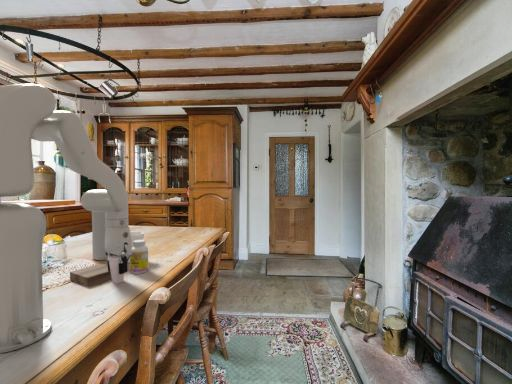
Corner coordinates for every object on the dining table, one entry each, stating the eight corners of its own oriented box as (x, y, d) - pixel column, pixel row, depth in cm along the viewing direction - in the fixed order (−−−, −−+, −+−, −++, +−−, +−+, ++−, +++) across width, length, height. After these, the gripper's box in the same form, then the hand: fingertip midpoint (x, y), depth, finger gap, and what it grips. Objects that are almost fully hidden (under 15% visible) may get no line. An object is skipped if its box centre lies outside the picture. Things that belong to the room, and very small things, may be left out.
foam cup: (119, 260, 122) (119, 233, 122) (140, 257, 128) (139, 231, 128) (125, 265, 115) (125, 236, 115) (146, 261, 121) (146, 233, 121)
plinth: (119, 275, 102) (119, 268, 102) (87, 286, 92) (87, 277, 92) (102, 270, 108) (102, 263, 108) (70, 279, 98) (69, 272, 97)
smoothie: (119, 285, 92) (118, 246, 92) (103, 284, 94) (103, 245, 93) (131, 279, 99) (130, 242, 98) (116, 277, 100) (116, 241, 100)
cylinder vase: (127, 255, 130) (126, 206, 130) (101, 262, 120) (100, 208, 119) (112, 252, 137) (112, 205, 136) (87, 258, 126) (86, 207, 125)
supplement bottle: (126, 272, 106) (126, 241, 105) (140, 268, 112) (140, 238, 111) (137, 275, 103) (137, 243, 102) (151, 270, 109) (151, 240, 108)
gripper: (141, 223, 95) (141, 272, 95) (113, 220, 103) (113, 265, 104) (121, 226, 88) (122, 279, 89) (93, 222, 96) (94, 270, 97)
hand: (117, 271), depth 96 cm, fingers closed on smoothie, 5 cm apart
